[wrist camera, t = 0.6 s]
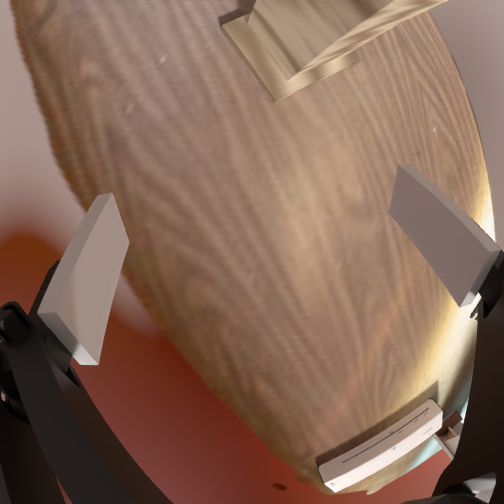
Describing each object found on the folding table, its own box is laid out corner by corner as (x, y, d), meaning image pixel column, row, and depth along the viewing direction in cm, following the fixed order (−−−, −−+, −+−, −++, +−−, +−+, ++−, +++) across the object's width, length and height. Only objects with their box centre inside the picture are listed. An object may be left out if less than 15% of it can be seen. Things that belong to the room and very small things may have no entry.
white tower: (459, 415, 66) (512, 476, 33) (436, 437, 67) (486, 500, 34) (454, 407, 63) (514, 475, 30) (429, 431, 64) (484, 502, 31)
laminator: (430, 396, 57) (443, 410, 51) (431, 415, 61) (442, 428, 55) (315, 466, 56) (323, 484, 51) (328, 478, 61) (335, 493, 55)
